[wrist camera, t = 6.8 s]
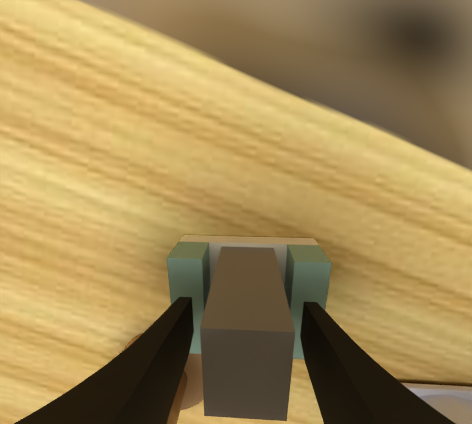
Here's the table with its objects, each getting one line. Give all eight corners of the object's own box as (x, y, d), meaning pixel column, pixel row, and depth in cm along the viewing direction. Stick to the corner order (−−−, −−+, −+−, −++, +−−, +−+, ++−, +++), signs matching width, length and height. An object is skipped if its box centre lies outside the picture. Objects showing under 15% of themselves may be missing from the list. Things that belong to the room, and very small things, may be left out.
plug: (273, 247, 13) (295, 332, 7) (270, 306, 14) (286, 421, 8) (221, 246, 13) (199, 327, 7) (222, 304, 14) (204, 415, 8)
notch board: (313, 238, 13) (331, 262, 10) (304, 319, 15) (317, 359, 12) (183, 234, 14) (166, 258, 11) (188, 314, 15) (175, 352, 13)
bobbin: (210, 332, 16) (186, 456, 9) (213, 402, 18) (194, 542, 11) (116, 328, 16) (31, 444, 10) (128, 396, 18) (64, 530, 12)
